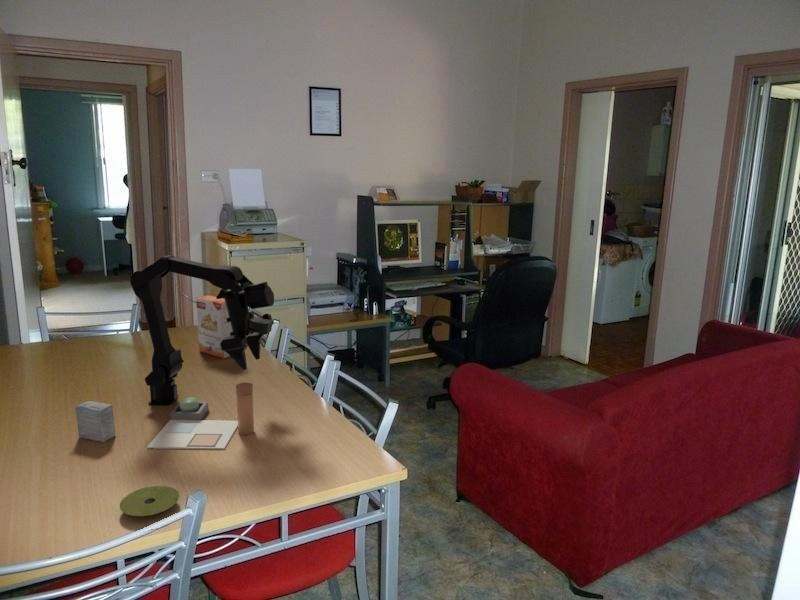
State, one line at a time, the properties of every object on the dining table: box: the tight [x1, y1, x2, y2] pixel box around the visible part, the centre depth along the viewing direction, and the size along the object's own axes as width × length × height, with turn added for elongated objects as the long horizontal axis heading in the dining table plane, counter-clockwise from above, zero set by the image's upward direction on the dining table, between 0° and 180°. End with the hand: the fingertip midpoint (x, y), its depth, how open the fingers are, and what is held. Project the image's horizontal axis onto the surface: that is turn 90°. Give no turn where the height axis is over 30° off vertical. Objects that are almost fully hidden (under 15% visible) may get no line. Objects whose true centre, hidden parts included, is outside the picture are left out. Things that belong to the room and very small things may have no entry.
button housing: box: [169, 401, 209, 421], centre depth 167 cm, size 8×8×2 cm
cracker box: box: [195, 294, 235, 360], centre depth 218 cm, size 14×6×21 cm, turn 55°
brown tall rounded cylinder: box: [235, 382, 255, 436], centre depth 156 cm, size 4×4×13 cm
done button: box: [179, 396, 200, 412], centre depth 166 cm, size 5×5×3 cm
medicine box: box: [75, 400, 117, 443], centre depth 152 cm, size 8×4×9 cm, turn 71°
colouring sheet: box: [146, 419, 238, 450], centre depth 155 cm, size 19×16×1 cm
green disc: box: [119, 485, 180, 517], centre depth 122 cm, size 11×11×2 cm
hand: (251, 364), depth 169 cm, fingers open, 9 cm apart
